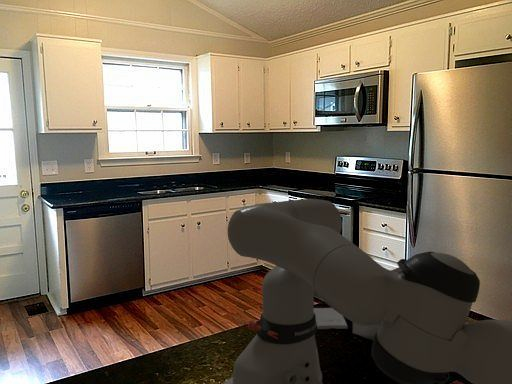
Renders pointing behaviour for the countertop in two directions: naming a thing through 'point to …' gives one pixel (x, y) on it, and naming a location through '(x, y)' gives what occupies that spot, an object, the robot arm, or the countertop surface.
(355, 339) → the countertop surface
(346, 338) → the countertop surface
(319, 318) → the external hard drive
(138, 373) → the countertop surface
